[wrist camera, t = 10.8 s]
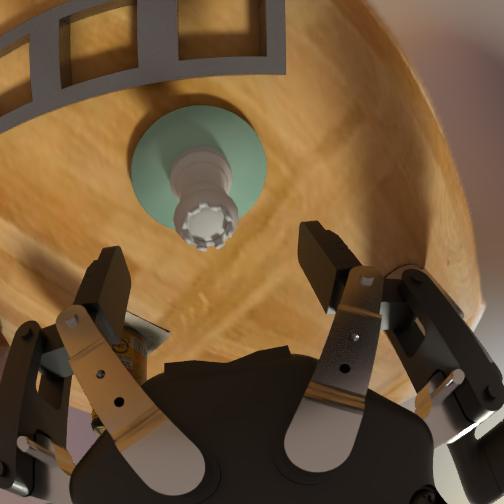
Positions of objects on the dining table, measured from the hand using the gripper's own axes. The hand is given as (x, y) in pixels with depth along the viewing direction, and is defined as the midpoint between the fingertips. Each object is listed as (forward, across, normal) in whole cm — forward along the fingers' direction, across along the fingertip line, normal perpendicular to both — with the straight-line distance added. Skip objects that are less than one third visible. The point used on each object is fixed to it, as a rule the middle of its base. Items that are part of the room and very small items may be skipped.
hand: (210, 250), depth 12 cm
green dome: (+10, 0, 0) cm, 10 cm away
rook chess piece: (+10, 0, 0) cm, 10 cm away
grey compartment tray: (+10, +6, -12) cm, 16 cm away
